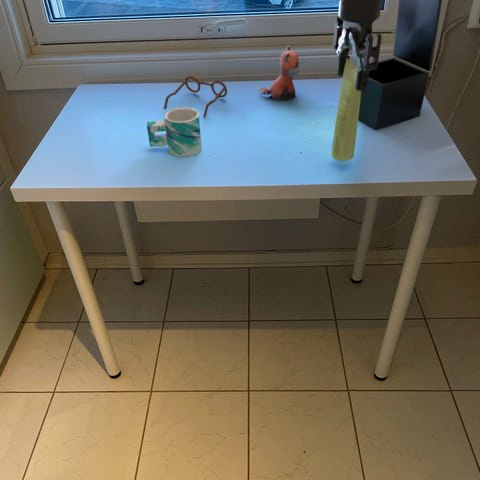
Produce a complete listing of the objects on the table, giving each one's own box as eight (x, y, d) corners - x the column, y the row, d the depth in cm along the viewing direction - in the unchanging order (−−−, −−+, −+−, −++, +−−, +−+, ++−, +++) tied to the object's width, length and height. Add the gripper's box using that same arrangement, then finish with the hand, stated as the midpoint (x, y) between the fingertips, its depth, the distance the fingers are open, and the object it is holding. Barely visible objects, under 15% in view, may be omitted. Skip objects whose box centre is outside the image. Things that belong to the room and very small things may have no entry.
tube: (359, 154, 116) (373, 62, 102) (350, 164, 113) (362, 70, 99) (336, 148, 118) (346, 57, 105) (326, 158, 115) (335, 65, 102)
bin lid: (439, 0, 114) (456, -7, 116) (400, -13, 122) (416, -18, 123) (428, 71, 126) (444, 64, 127) (393, 56, 133) (408, 50, 135)
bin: (375, 130, 129) (382, 86, 121) (343, 112, 137) (348, 69, 129) (419, 116, 134) (429, 72, 126) (386, 99, 142) (394, 57, 134)
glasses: (228, 99, 144) (227, 80, 141) (204, 118, 136) (203, 99, 133) (187, 91, 149) (185, 73, 145) (162, 109, 141) (160, 90, 137)
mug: (201, 156, 122) (198, 121, 116) (150, 159, 122) (144, 124, 116) (201, 139, 128) (198, 105, 122) (152, 142, 127) (146, 108, 121)
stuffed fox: (257, 91, 148) (256, 45, 139) (296, 89, 148) (298, 43, 139) (259, 102, 142) (259, 55, 134) (300, 100, 143) (302, 53, 134)
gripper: (401, -5, 89) (385, 92, 100) (362, -23, 98) (351, 67, 110) (362, 0, 87) (350, 99, 99) (325, -19, 97) (319, 73, 108)
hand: (351, 82), depth 104 cm, fingers closed on tube, 7 cm apart
